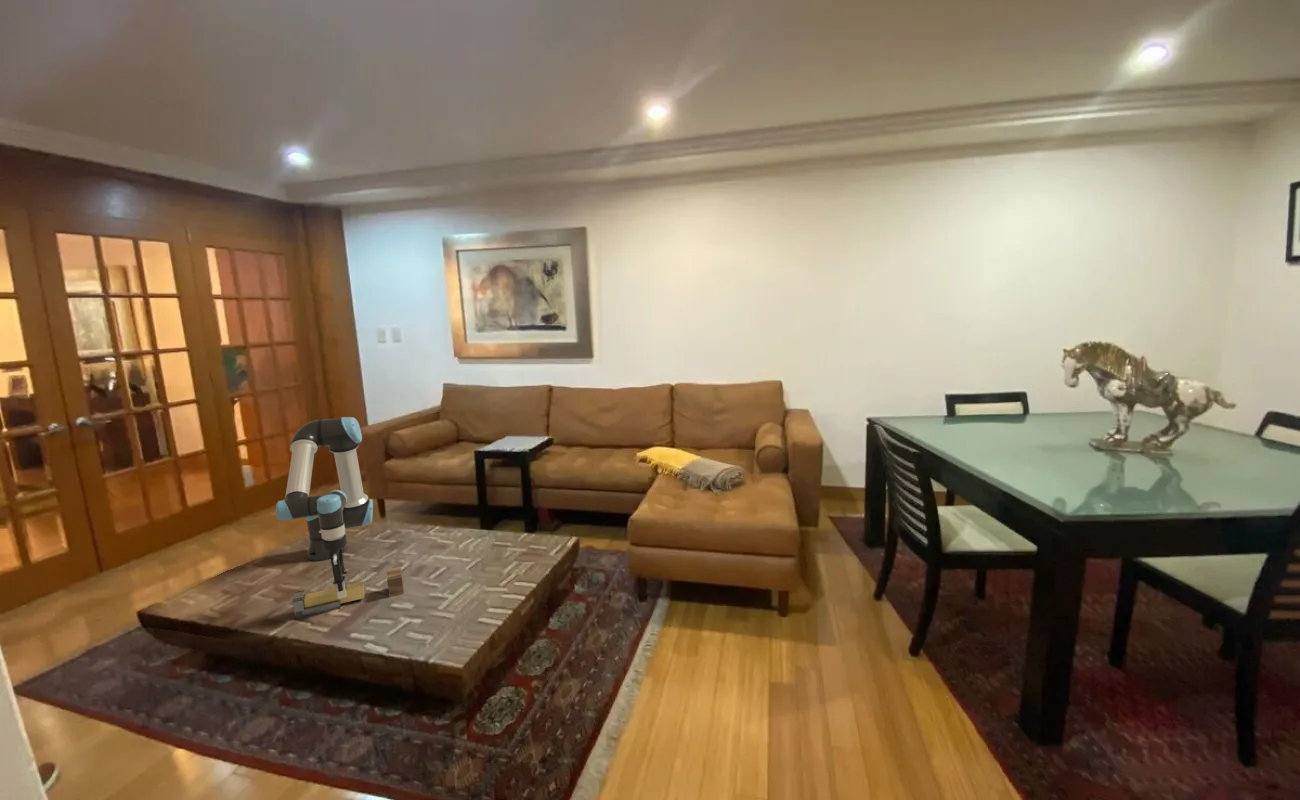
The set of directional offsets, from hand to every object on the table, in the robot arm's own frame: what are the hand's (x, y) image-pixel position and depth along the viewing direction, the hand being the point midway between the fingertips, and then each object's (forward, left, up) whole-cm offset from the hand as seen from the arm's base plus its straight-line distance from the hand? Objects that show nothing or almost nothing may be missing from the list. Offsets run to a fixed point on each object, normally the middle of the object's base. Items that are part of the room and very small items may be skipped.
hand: (342, 594), depth 197 cm
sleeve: (0, -8, -4) cm, 9 cm away
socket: (0, +18, -4) cm, 18 cm away
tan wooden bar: (0, -4, -2) cm, 5 cm away
